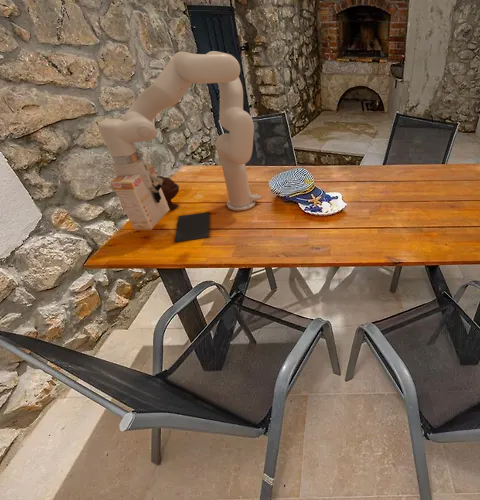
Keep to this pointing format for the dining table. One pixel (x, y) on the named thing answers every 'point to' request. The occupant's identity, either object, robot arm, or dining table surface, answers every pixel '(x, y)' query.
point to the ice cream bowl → (169, 191)
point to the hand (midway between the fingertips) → (145, 202)
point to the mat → (192, 227)
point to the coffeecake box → (140, 201)
